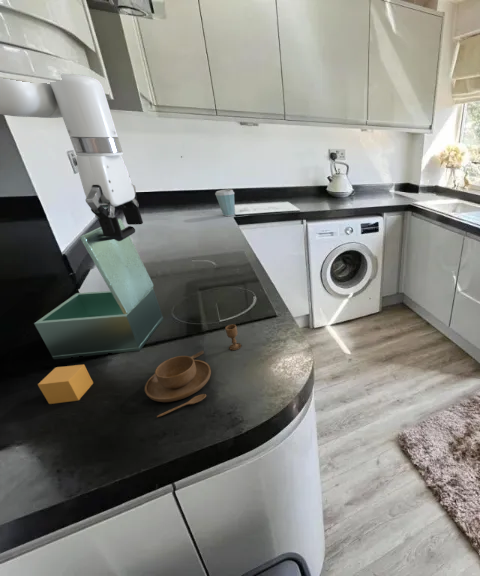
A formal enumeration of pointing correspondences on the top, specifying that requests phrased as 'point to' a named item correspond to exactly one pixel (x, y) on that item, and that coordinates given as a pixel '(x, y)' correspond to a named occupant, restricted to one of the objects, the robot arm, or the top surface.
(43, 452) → the top surface
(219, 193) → the disposable coffee cup
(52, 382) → the block
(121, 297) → the freezer lid
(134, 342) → the box
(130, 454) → the top surface
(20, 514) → the top surface
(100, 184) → the robot arm
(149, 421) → the top surface
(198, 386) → the place setting
